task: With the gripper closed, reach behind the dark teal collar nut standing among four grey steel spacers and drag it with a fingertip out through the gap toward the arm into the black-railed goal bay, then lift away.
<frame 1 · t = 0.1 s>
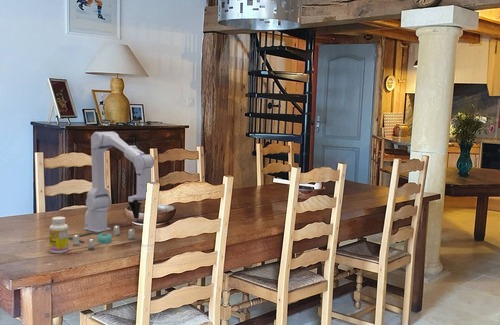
hand: (143, 216, 220), 10 cm above the table, fingers open, 7 cm apart
supplement bottle: (58, 251, 202), on the table
goal bay: (88, 237, 222), on the table
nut: (104, 242, 217), on the table
spacer field: (104, 241, 217), on the table
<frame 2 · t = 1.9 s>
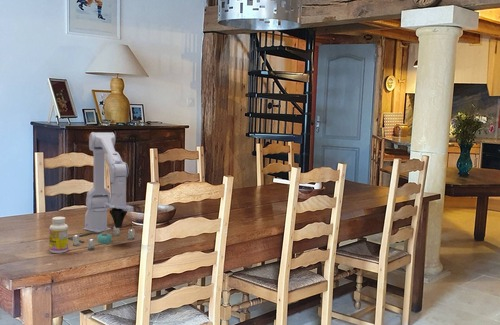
hand: (118, 227, 212), 7 cm above the table, fingers closed
nothing on the table moved.
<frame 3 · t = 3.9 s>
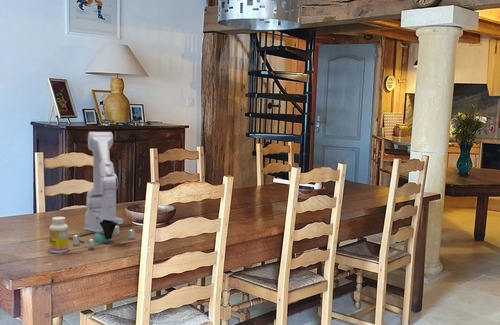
hand: (108, 238, 216), 2 cm above the table, fingers closed
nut: (101, 241, 218), on the table, touching gripper
everything else where it was.
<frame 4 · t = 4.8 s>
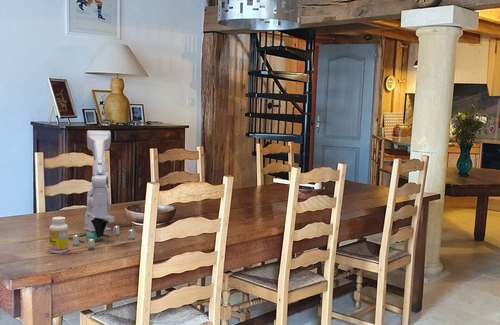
hand: (99, 236, 218), 2 cm above the table, fingers closed
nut: (93, 239, 221), on the table, touching gripper
everything else where it was.
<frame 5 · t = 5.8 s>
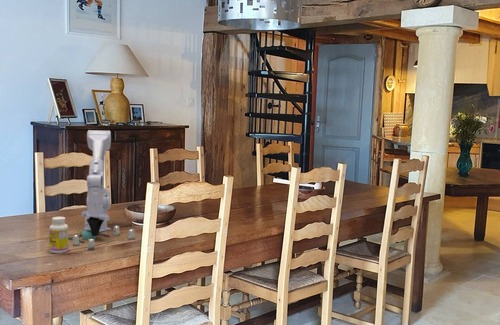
hand: (95, 235, 220), 2 cm above the table, fingers closed
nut: (89, 238, 222), on the table, touching gripper
everything else where it was.
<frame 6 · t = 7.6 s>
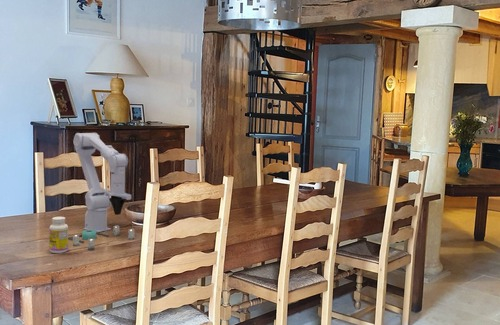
hand: (117, 214, 226), 9 cm above the table, fingers closed
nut: (89, 238, 222), on the table
everything else where it was.
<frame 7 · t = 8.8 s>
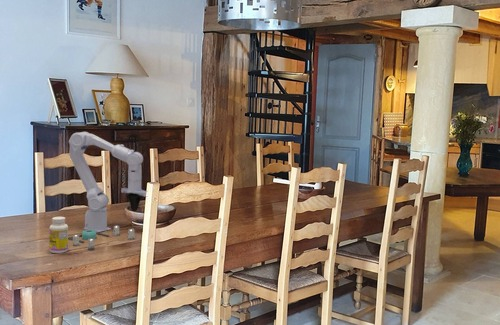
hand: (134, 210, 235), 9 cm above the table, fingers closed
nothing on the table moved.
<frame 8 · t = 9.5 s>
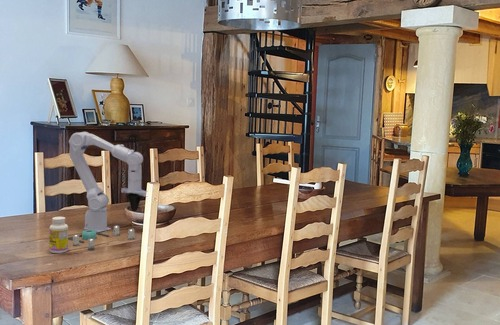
hand: (134, 210, 235), 9 cm above the table, fingers closed
nothing on the table moved.
at the end: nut inside the target area (0.2 cm from its centre), on the table; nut tilted 0°; the gripper is holding nothing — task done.
